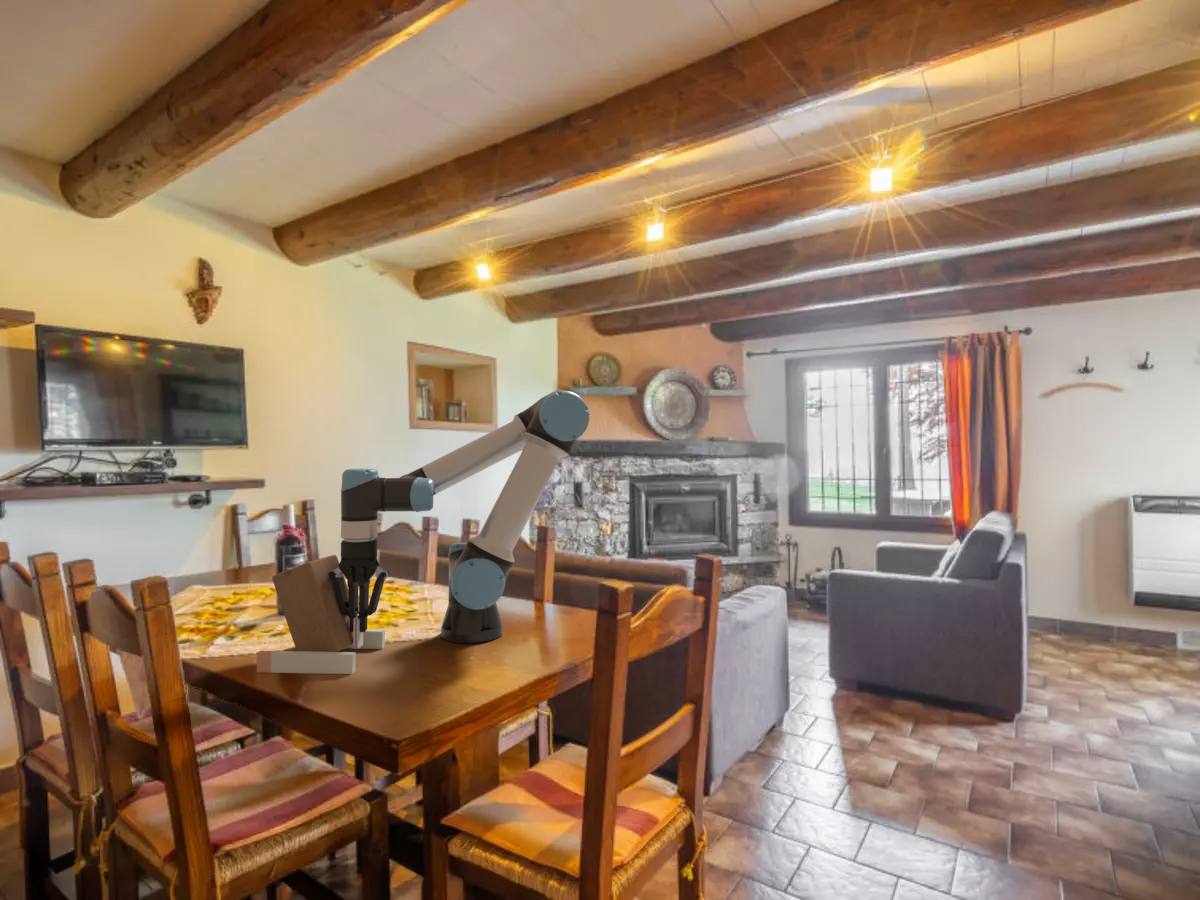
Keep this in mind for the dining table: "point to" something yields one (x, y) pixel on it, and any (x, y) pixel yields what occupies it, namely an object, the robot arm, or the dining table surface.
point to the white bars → (317, 658)
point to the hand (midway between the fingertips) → (358, 646)
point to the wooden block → (313, 606)
